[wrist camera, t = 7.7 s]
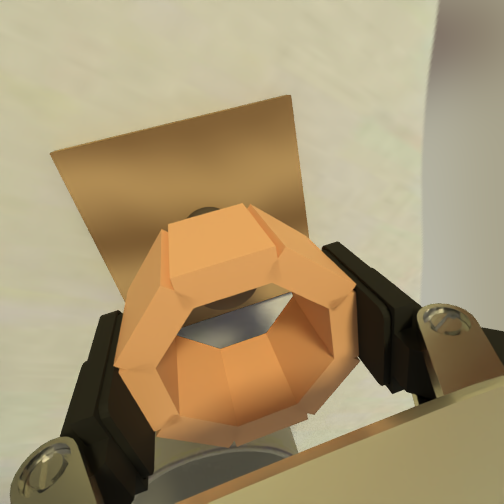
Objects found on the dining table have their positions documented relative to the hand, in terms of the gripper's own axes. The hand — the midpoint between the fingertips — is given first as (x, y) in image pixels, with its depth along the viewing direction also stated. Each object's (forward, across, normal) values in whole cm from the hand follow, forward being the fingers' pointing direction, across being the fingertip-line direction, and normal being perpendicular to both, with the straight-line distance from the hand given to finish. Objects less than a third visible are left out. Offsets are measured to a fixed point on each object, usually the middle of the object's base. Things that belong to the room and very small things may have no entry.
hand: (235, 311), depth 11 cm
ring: (+1, 0, 0) cm, 1 cm away
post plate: (+9, 0, 0) cm, 9 cm away
